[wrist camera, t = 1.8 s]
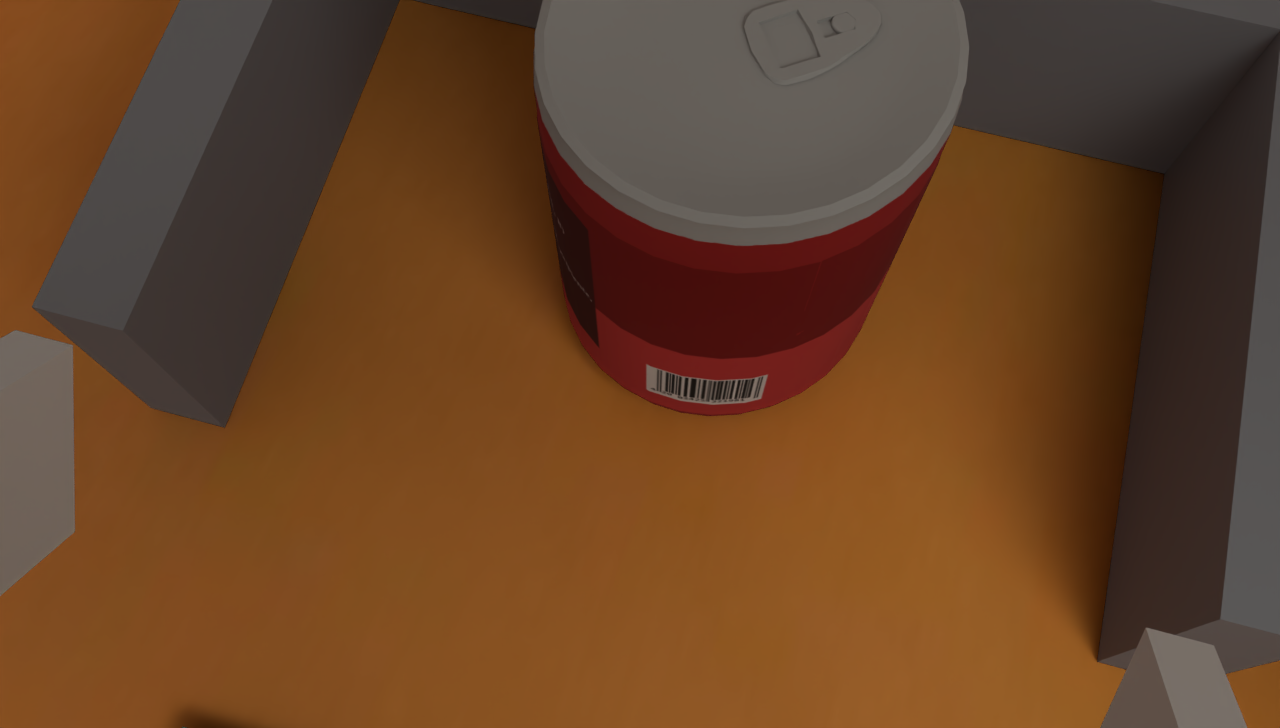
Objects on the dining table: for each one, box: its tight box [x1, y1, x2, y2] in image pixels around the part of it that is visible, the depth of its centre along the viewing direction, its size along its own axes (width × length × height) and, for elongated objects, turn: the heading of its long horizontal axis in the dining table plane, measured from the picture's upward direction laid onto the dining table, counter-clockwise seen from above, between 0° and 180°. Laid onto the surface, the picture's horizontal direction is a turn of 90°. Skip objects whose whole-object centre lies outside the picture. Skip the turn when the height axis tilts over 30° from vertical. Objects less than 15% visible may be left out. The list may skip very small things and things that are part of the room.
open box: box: [32, 0, 1280, 674], centre depth 29 cm, size 26×16×6 cm, turn 75°
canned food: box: [534, 0, 969, 416], centre depth 27 cm, size 8×8×11 cm
